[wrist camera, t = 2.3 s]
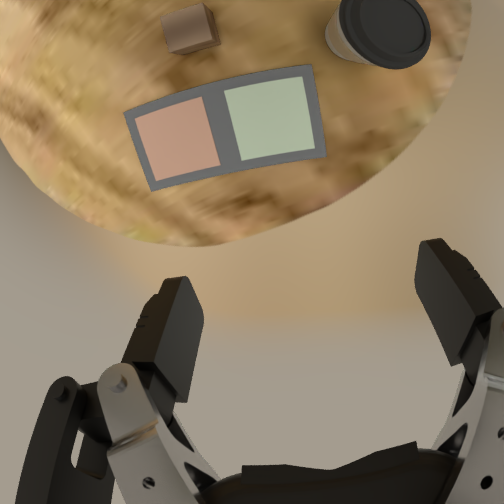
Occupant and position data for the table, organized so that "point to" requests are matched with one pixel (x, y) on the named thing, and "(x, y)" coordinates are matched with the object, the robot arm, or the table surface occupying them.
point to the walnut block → (190, 29)
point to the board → (229, 127)
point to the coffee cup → (379, 32)
